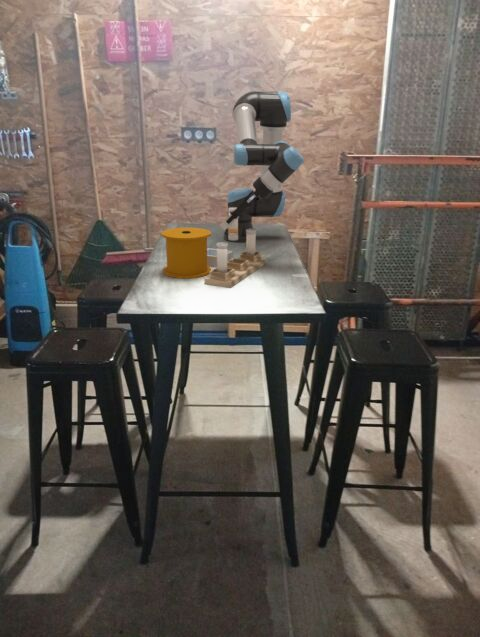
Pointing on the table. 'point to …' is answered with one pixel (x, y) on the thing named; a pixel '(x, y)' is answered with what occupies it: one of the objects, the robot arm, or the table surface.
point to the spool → (186, 252)
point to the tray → (213, 257)
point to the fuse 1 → (222, 257)
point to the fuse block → (236, 270)
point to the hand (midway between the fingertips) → (223, 226)
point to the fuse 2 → (250, 241)
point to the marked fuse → (233, 226)
